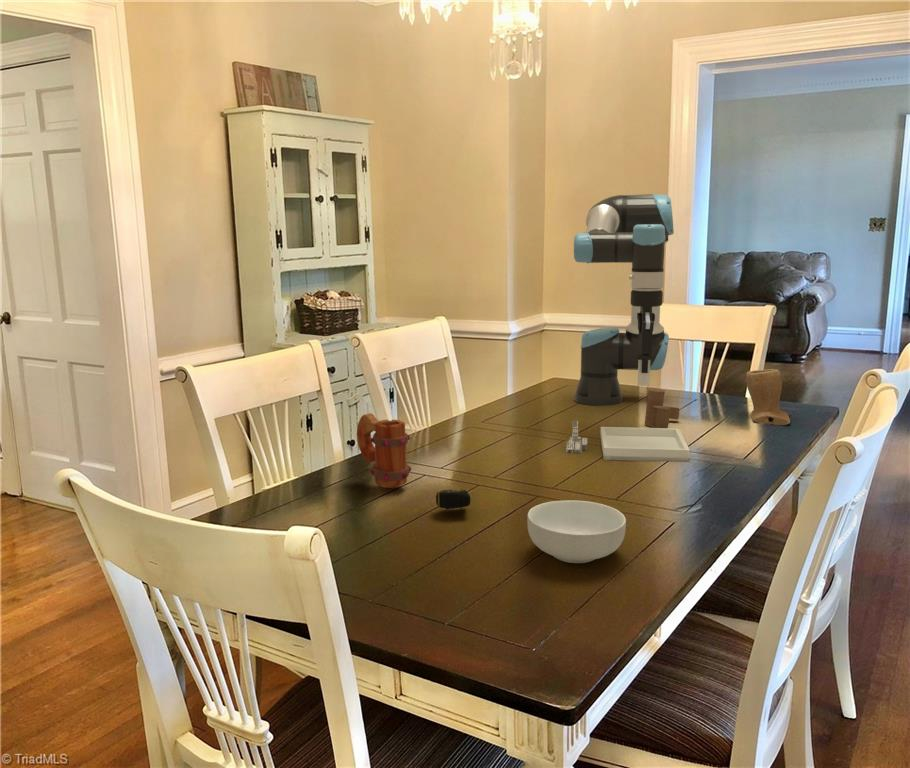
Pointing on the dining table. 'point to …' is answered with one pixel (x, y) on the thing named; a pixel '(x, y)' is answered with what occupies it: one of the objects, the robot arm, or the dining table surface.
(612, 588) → the dining table surface
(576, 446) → the house of cards
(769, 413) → the brown upright flared piece
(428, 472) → the dining table surface
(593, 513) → the cereal bowl
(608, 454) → the tray
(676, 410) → the wooden block set
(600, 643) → the dining table surface
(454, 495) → the tape measure
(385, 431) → the mug
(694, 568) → the dining table surface
